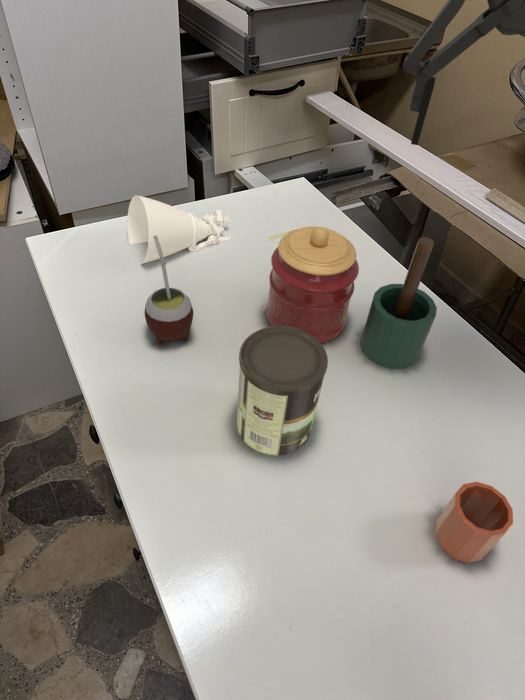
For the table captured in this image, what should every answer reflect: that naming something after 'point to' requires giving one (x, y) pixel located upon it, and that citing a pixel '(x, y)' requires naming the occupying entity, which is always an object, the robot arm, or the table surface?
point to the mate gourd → (168, 310)
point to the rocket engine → (171, 227)
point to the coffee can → (279, 388)
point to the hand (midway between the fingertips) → (474, 151)
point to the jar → (396, 328)
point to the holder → (483, 511)
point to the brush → (413, 278)
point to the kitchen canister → (312, 282)
